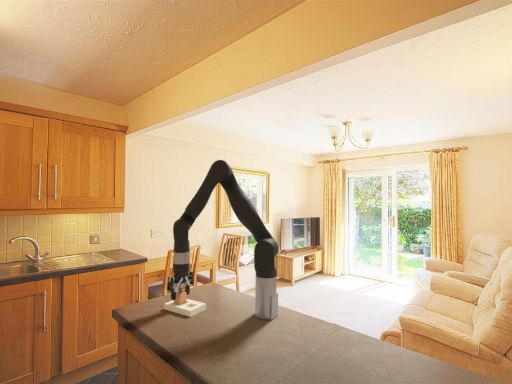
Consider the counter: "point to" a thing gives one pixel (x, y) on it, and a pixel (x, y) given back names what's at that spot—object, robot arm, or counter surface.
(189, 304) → the power strip
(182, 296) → the block
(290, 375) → the counter surface
